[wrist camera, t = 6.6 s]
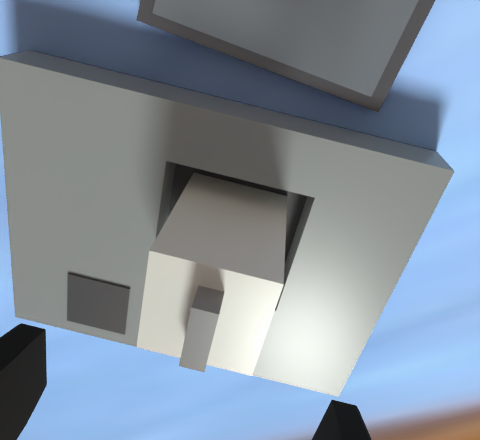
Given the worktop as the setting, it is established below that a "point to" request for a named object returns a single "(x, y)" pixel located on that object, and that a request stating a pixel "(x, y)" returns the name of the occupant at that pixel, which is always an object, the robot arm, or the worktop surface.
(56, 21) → the worktop surface
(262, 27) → the phone
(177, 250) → the charger
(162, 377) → the worktop surface
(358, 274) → the plate
